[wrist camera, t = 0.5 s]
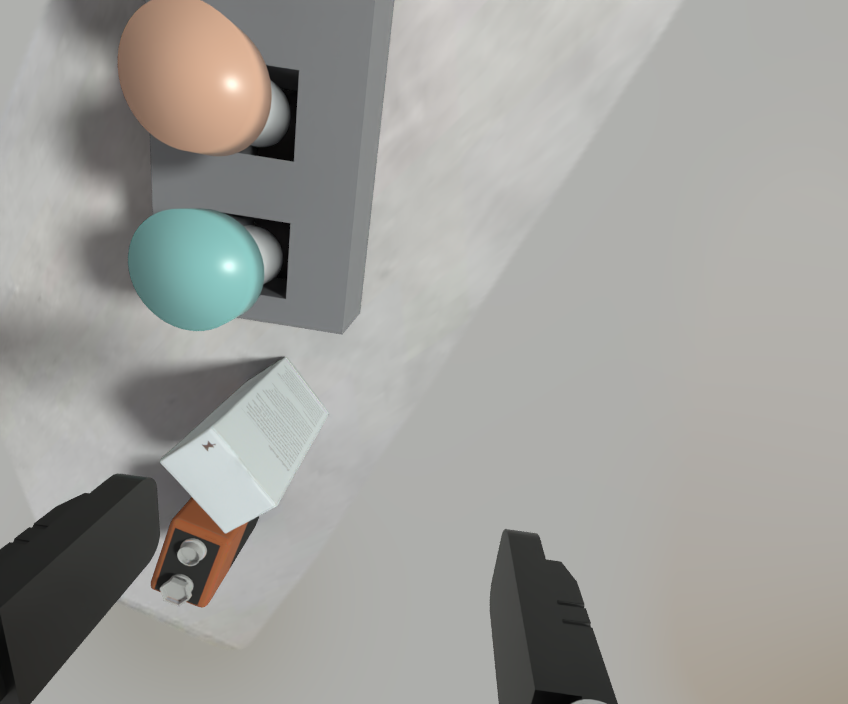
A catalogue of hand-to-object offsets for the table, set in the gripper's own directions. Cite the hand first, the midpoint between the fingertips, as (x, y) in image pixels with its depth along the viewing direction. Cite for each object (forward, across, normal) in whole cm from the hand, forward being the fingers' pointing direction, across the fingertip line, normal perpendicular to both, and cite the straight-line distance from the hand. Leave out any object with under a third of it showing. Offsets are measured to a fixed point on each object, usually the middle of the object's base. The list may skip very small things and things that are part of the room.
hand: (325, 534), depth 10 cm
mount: (+25, +10, -11) cm, 29 cm away
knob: (+20, +10, -3) cm, 22 cm away
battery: (+25, +13, +18) cm, 34 cm away
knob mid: (+20, +10, -11) cm, 24 cm away
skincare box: (+25, +9, +9) cm, 28 cm away
